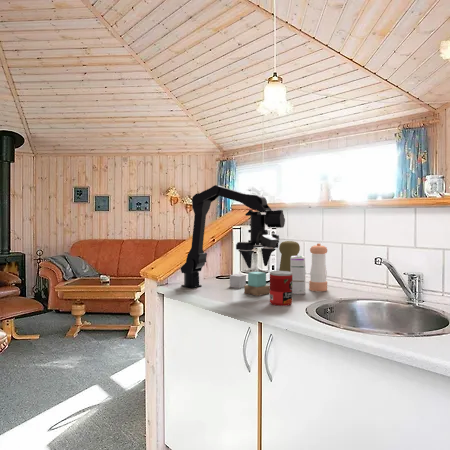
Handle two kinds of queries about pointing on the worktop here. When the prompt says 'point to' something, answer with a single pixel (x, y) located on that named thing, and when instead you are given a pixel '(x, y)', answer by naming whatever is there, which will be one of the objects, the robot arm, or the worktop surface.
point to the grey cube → (237, 280)
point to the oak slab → (257, 290)
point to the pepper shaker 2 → (318, 269)
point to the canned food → (281, 288)
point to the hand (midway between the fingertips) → (257, 267)
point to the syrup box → (298, 274)
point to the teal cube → (256, 279)
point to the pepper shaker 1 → (287, 254)
